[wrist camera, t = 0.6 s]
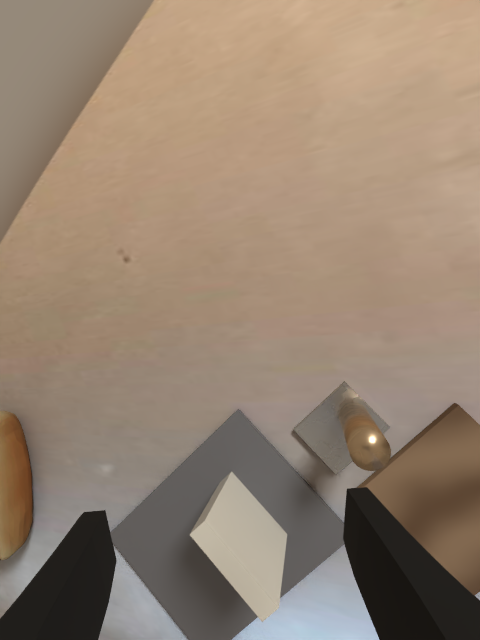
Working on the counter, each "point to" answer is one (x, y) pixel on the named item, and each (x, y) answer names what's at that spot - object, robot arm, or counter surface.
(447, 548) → the board
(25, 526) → the food
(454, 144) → the counter surface
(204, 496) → the mat
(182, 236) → the counter surface
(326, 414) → the stamp with brass handle
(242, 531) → the tile
